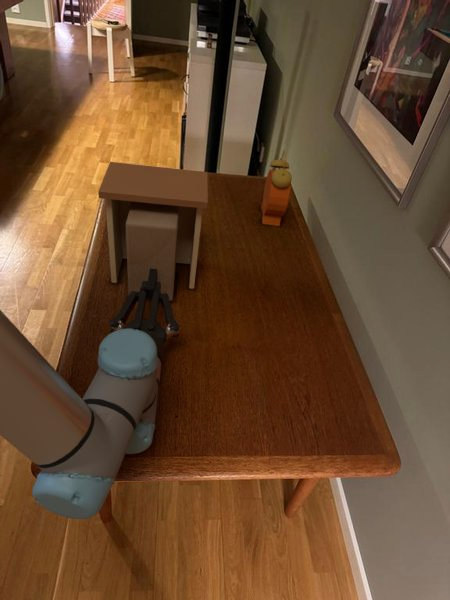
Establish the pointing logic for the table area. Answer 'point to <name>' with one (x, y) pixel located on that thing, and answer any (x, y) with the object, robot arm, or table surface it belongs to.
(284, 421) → the table surface
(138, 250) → the wooden block
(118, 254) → the desk
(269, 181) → the alarm clock
